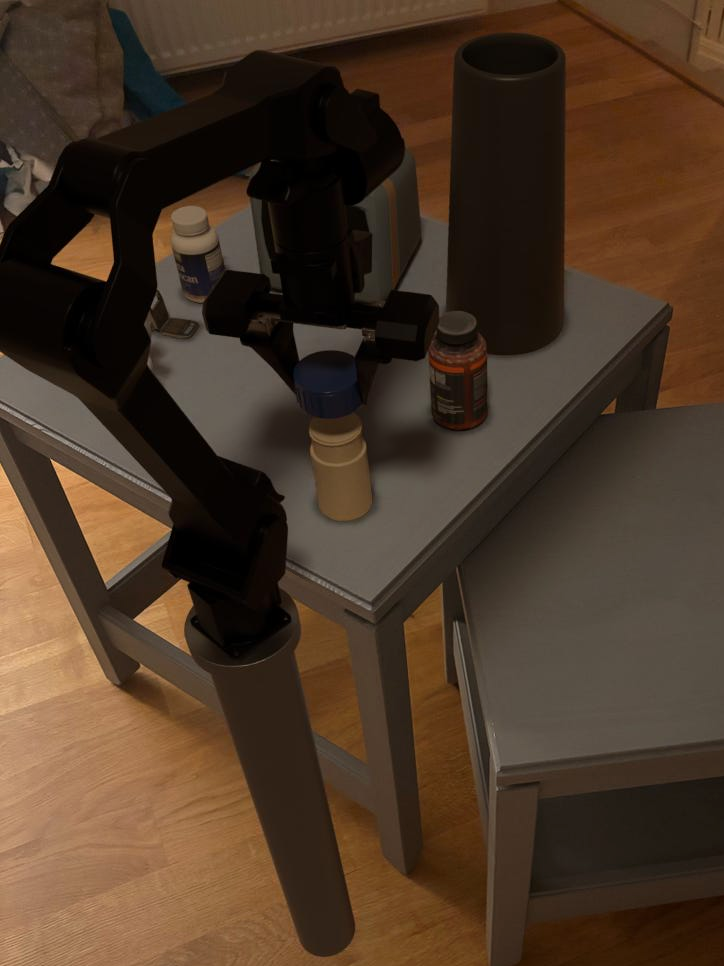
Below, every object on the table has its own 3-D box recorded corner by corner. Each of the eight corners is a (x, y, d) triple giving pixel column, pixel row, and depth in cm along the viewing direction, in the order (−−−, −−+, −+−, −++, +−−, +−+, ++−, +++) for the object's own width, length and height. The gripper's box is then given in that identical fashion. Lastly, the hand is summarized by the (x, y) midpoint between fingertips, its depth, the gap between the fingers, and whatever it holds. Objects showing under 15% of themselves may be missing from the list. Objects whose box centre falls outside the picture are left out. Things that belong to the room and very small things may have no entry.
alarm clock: (257, 293, 124) (232, 162, 112) (304, 223, 134) (286, 96, 122) (389, 312, 122) (378, 180, 109) (426, 239, 132) (420, 111, 119)
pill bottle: (174, 297, 124) (154, 219, 116) (201, 274, 127) (184, 197, 119) (210, 309, 122) (193, 231, 115) (238, 286, 125) (222, 209, 118)
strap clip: (121, 329, 120) (111, 296, 117) (133, 314, 122) (123, 281, 118) (189, 340, 118) (181, 307, 115) (200, 325, 120) (192, 292, 117)
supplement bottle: (490, 398, 112) (490, 305, 103) (484, 434, 108) (485, 341, 99) (434, 395, 112) (430, 302, 103) (427, 431, 108) (422, 338, 100)
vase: (543, 279, 126) (556, 18, 104) (579, 344, 118) (602, 75, 95) (433, 296, 124) (423, 32, 102) (462, 363, 116) (457, 92, 93)
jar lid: (282, 403, 91) (277, 376, 89) (326, 368, 95) (322, 341, 92) (336, 428, 89) (333, 401, 87) (379, 391, 92) (377, 364, 90)
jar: (346, 529, 99) (335, 451, 92) (307, 505, 101) (294, 427, 94) (383, 500, 102) (375, 422, 94) (345, 477, 104) (334, 399, 97)
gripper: (452, 193, 84) (456, 356, 96) (232, 169, 86) (263, 331, 98) (418, 269, 77) (426, 434, 89) (180, 240, 79) (220, 405, 92)
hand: (332, 397), depth 92 cm, fingers closed on jar lid, 6 cm apart
